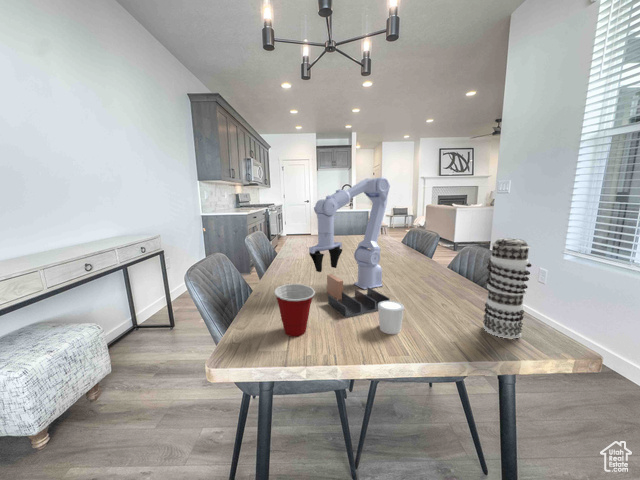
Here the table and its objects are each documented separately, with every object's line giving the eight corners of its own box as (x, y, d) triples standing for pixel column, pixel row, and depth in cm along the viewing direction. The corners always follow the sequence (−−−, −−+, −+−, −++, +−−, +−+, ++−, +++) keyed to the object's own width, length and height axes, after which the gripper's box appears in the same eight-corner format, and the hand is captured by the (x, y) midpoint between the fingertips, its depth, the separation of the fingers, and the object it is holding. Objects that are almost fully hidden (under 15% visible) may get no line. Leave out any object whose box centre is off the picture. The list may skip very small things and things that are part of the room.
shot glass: (403, 325, 73) (404, 301, 72) (402, 337, 67) (403, 311, 66) (378, 321, 76) (379, 298, 74) (375, 333, 69) (376, 308, 68)
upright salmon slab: (331, 291, 101) (331, 274, 100) (343, 299, 93) (343, 280, 92) (327, 292, 100) (327, 274, 99) (338, 300, 92) (338, 281, 91)
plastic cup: (300, 347, 63) (298, 300, 61) (267, 335, 69) (265, 292, 67) (323, 328, 72) (322, 287, 70) (292, 319, 78) (291, 281, 76)
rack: (368, 296, 96) (368, 287, 95) (389, 308, 85) (389, 298, 84) (328, 303, 89) (327, 294, 88) (345, 318, 78) (345, 307, 77)
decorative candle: (496, 320, 75) (504, 235, 71) (531, 336, 67) (543, 240, 63) (473, 326, 72) (480, 238, 68) (507, 343, 63) (518, 243, 60)
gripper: (332, 230, 100) (332, 263, 103) (303, 234, 91) (304, 271, 93) (345, 231, 95) (345, 267, 97) (316, 235, 86) (317, 275, 88)
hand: (326, 269), depth 95 cm, fingers open, 7 cm apart
